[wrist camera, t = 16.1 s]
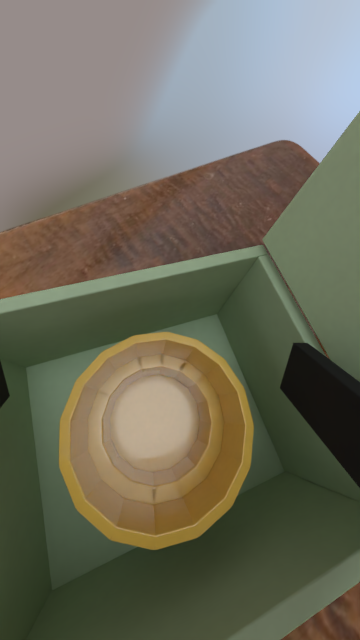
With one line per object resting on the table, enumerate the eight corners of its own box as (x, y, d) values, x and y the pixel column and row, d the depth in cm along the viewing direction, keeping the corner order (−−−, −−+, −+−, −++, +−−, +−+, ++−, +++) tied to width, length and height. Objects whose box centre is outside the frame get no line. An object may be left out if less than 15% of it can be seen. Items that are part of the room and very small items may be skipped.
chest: (45, 604, 14) (-136, 945, 5) (19, 363, 19) (-96, 318, 10) (291, 475, 19) (427, 534, 10) (218, 308, 24) (263, 243, 15)
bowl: (73, 474, 16) (18, 520, 9) (117, 348, 20) (102, 314, 13) (201, 504, 16) (242, 571, 9) (221, 375, 20) (260, 355, 13)
